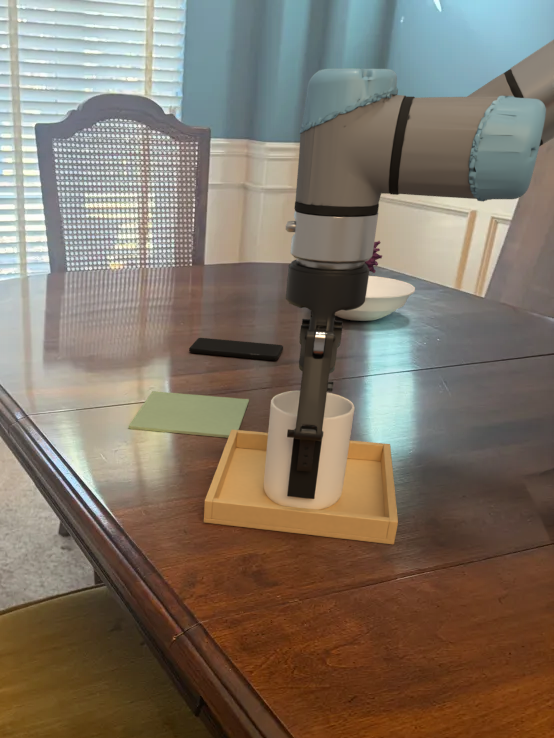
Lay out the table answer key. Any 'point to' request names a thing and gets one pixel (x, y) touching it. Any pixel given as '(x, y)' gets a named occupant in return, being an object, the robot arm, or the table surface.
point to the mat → (190, 414)
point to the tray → (342, 520)
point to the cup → (331, 453)
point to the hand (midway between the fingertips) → (304, 470)
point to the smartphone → (236, 348)
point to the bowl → (380, 299)
